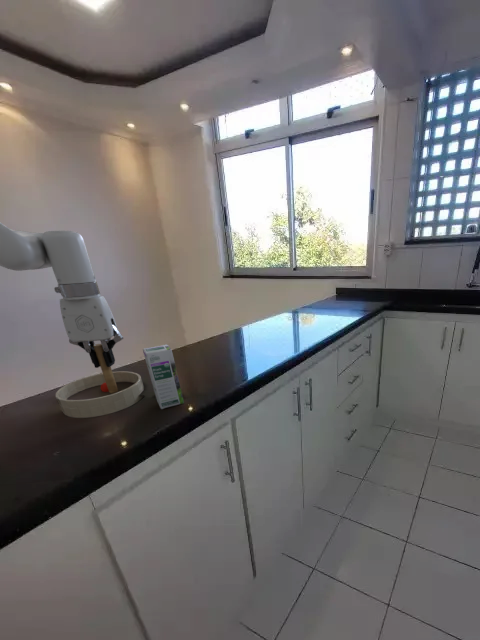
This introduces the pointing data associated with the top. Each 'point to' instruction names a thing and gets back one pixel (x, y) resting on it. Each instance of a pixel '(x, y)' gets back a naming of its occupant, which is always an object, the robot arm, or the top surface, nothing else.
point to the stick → (105, 369)
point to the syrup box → (163, 375)
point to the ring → (102, 403)
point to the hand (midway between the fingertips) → (105, 365)
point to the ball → (104, 388)
